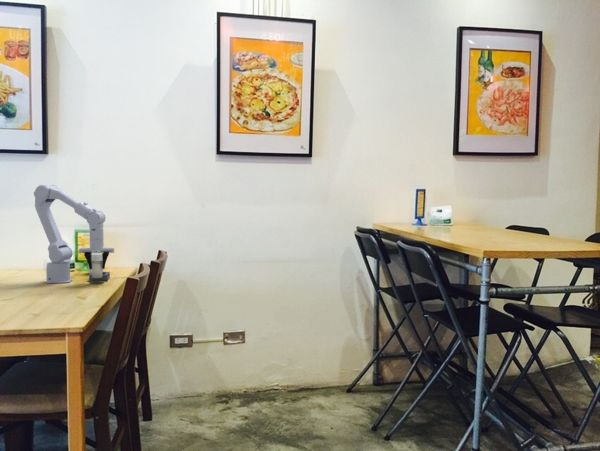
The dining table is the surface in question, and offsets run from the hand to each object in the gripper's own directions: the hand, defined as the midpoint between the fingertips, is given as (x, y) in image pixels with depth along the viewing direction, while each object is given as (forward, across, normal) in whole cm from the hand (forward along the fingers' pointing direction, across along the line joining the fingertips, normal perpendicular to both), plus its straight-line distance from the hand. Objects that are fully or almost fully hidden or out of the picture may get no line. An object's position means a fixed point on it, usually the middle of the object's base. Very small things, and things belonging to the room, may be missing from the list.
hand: (97, 268), depth 228 cm
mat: (+6, 0, 0) cm, 6 cm away
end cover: (+4, 0, 0) cm, 4 cm away
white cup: (+7, -4, +24) cm, 26 cm away
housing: (+6, 0, +8) cm, 10 cm away
